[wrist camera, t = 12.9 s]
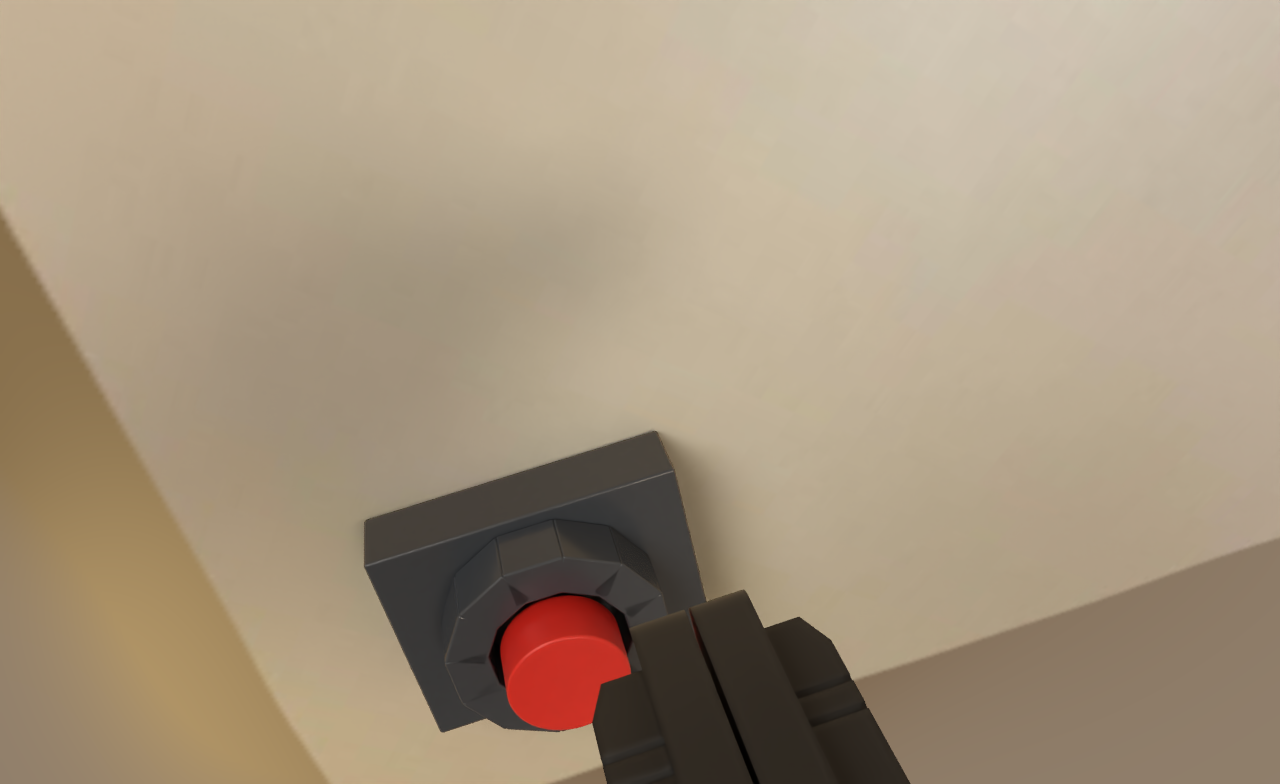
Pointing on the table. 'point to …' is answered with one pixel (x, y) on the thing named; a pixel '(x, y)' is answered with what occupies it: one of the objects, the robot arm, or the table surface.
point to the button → (561, 660)
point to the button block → (529, 566)
